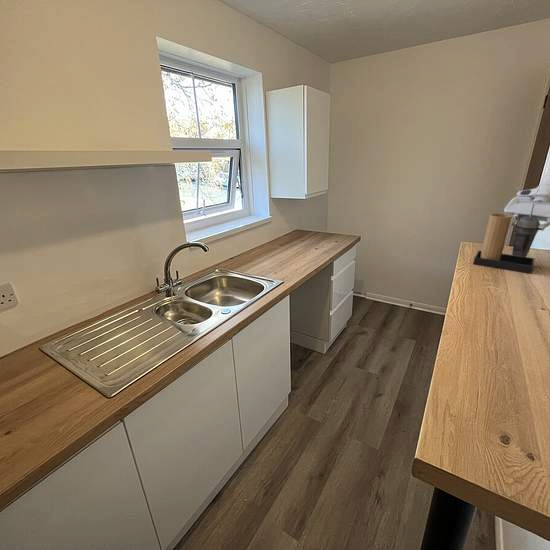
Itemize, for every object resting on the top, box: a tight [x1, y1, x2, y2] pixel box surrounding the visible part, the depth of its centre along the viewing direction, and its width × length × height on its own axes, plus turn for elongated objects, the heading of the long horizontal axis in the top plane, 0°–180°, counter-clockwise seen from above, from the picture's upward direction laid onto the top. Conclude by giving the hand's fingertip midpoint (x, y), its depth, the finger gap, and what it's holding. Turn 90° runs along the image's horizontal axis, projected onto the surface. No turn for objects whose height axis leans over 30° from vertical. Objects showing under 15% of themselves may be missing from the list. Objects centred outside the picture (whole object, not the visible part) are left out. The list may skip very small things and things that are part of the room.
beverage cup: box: [511, 204, 541, 257], centre depth 115 cm, size 7×7×20 cm
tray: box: [473, 250, 535, 275], centre depth 123 cm, size 19×11×3 cm, turn 51°
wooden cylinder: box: [480, 213, 513, 261], centre depth 123 cm, size 7×7×20 cm
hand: (526, 227), depth 115 cm, fingers closed on beverage cup, 7 cm apart
